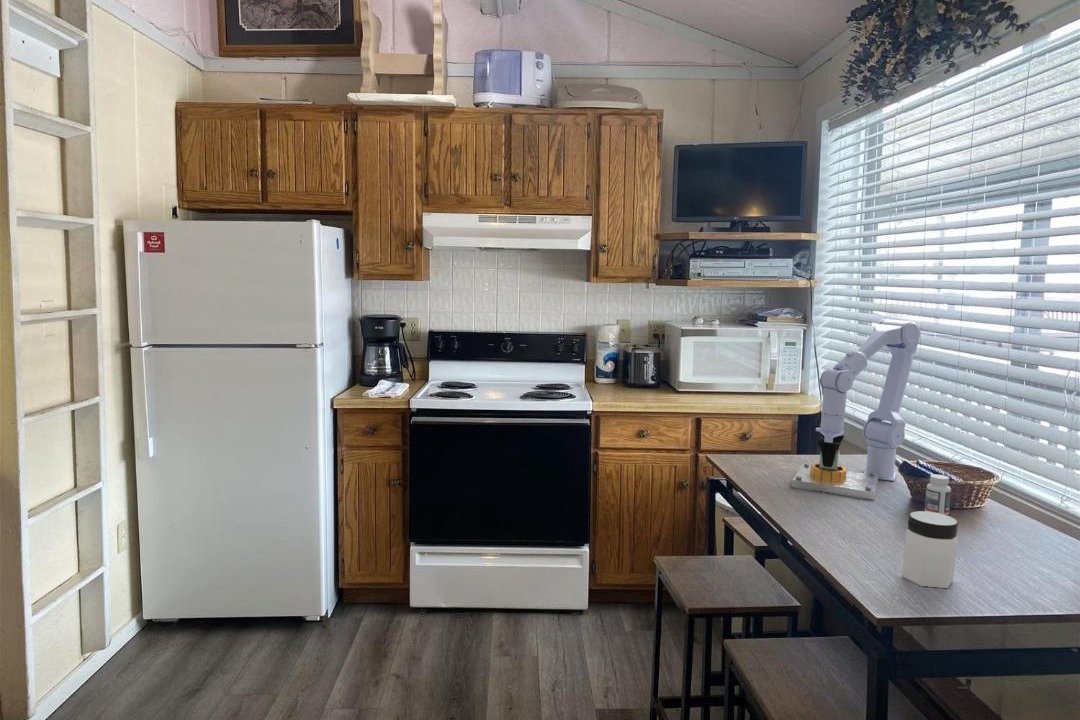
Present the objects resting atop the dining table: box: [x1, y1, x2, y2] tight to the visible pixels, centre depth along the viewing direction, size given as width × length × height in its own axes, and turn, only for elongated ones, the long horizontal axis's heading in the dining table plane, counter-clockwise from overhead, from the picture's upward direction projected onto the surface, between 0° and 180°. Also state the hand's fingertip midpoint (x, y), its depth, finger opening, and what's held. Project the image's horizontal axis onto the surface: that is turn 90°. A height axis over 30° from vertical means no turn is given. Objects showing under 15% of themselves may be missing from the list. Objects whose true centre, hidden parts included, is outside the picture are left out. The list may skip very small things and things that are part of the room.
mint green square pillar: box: [819, 449, 841, 471], centre depth 201 cm, size 4×4×8 cm
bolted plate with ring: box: [791, 462, 879, 501], centre depth 201 cm, size 18×20×4 cm
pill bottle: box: [924, 473, 952, 516], centre depth 180 cm, size 5×5×9 cm
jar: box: [901, 510, 959, 589], centre depth 140 cm, size 9×8×12 cm
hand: (829, 463), depth 201 cm, fingers open, 7 cm apart
